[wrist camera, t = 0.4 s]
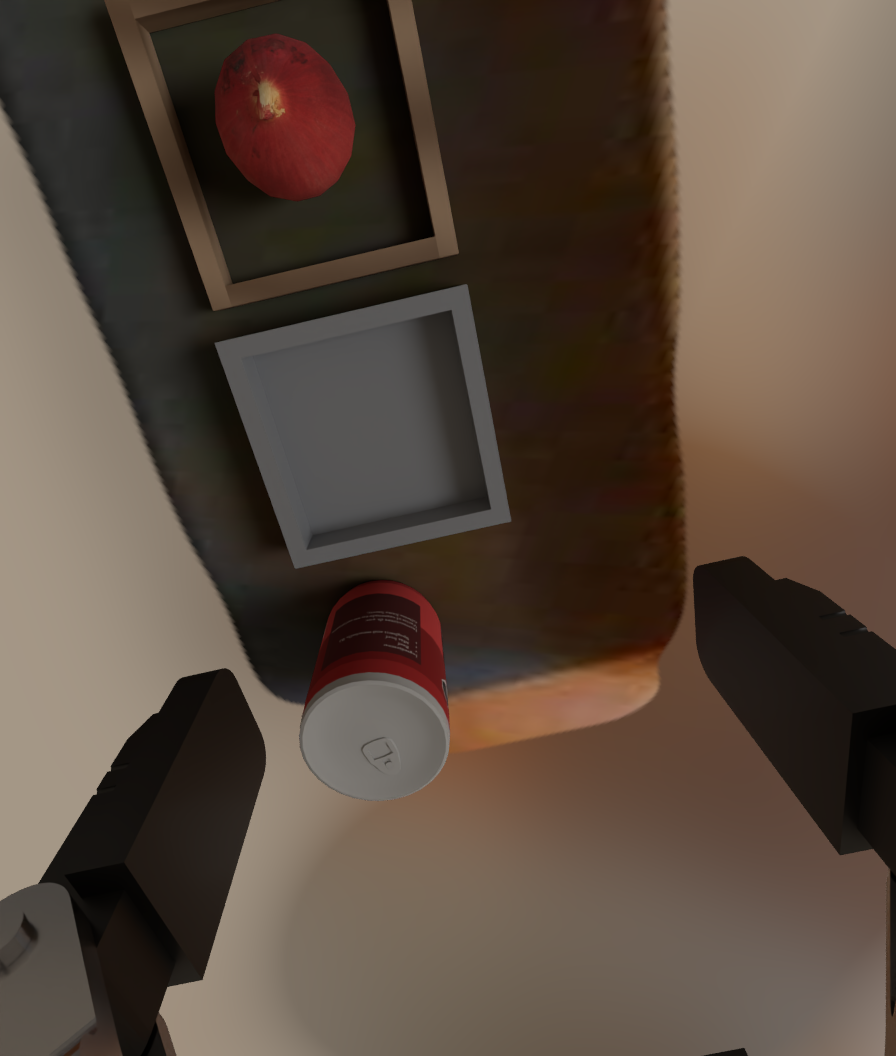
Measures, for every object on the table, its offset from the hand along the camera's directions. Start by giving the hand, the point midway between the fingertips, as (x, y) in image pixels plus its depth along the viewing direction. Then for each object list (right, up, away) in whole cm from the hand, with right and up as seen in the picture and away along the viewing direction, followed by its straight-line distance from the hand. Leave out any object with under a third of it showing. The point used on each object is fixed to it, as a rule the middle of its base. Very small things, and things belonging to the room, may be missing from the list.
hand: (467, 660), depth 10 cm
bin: (-4, +8, +24) cm, 26 cm away
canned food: (-5, -4, +29) cm, 30 cm away
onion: (-8, +21, +19) cm, 29 cm away
